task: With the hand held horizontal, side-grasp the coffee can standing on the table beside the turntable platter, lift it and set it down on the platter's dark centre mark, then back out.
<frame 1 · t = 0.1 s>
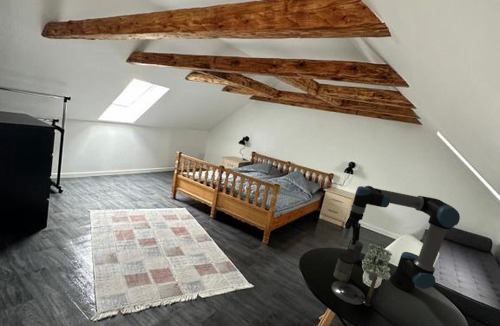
hand: (348, 243, 173), 28 cm above the table, tool pointing down, fingers open, 13 cm apart
coffee can: (340, 277, 187), on the table
pillar candle: (351, 258, 214), on the table
turntable: (348, 292, 171), on the table
gauge stand: (366, 303, 164), on the table
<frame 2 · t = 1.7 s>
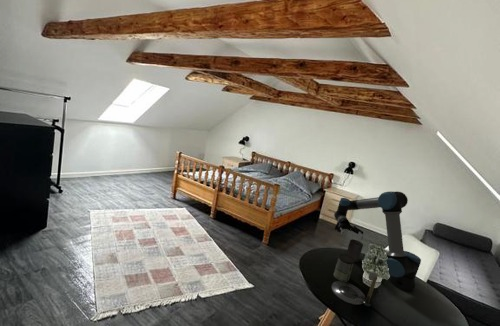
hand: (352, 235, 191), 26 cm above the table, tool horizontal, fingers open, 13 cm apart
nothing on the table moved.
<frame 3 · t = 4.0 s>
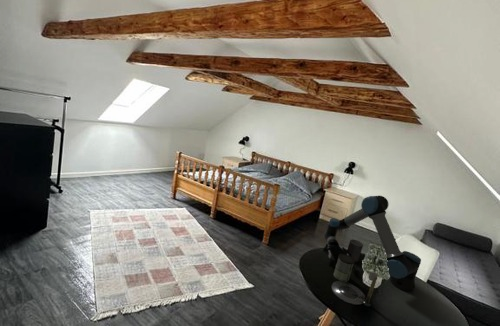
hand: (340, 258, 194), 8 cm above the table, tool horizontal, fingers open, 13 cm apart
nothing on the table moved.
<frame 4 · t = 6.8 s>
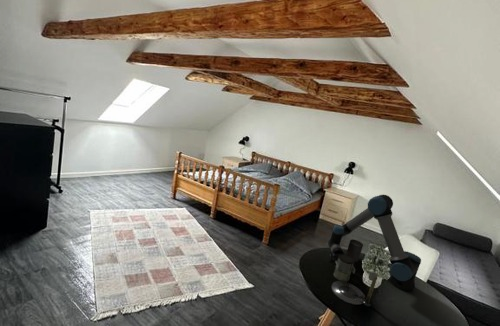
hand: (346, 270, 181), 8 cm above the table, tool horizontal, fingers closed on coffee can, 10 cm apart
coffee can: (340, 277, 187), on the table, touching gripper
everything else where it was.
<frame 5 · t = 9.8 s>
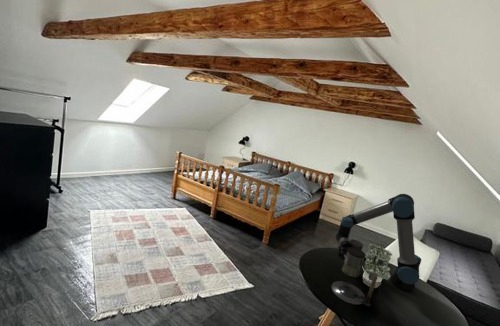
hand: (355, 264, 166), 20 cm above the table, tool horizontal, fingers closed on coffee can, 10 cm apart
coffee can: (350, 272, 172), point 12 cm above the table, touching gripper
everything else where it was.
when the fingers open (10 cm above the table, at t = 13.3 s): coffee can drops 1 cm, resting on turntable.
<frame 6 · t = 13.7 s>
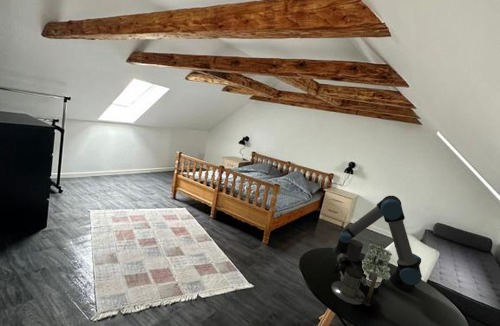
hand: (354, 282, 166), 10 cm above the table, tool horizontal, fingers open, 13 cm apart
coffee can: (348, 292, 171), resting on turntable
everything else where it was.
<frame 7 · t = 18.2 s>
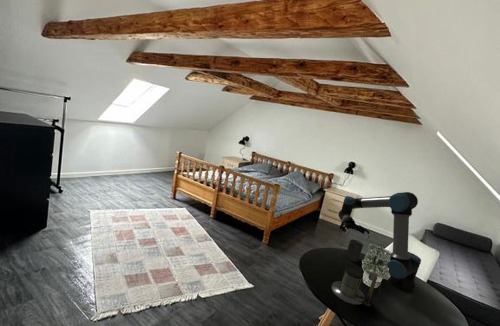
hand: (358, 235, 183), 30 cm above the table, tool horizontal, fingers open, 13 cm apart
nothing on the table moved.
at the end: coffee can inside the target area on the turntable (0.1 cm from its centre), point 0.5 cm above the turntable's base; coffee can tilted 0°; the gripper is holding nothing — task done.
